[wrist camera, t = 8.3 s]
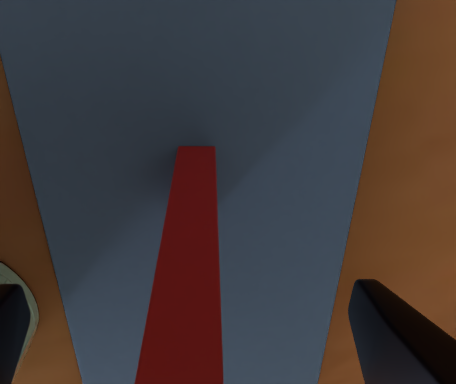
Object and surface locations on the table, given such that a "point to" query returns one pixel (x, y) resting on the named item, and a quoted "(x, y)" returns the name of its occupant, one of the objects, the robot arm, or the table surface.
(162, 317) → the red rectangular bar
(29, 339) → the tea cup
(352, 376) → the table surface
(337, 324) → the table surface
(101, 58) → the placemat
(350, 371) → the table surface
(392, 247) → the table surface
